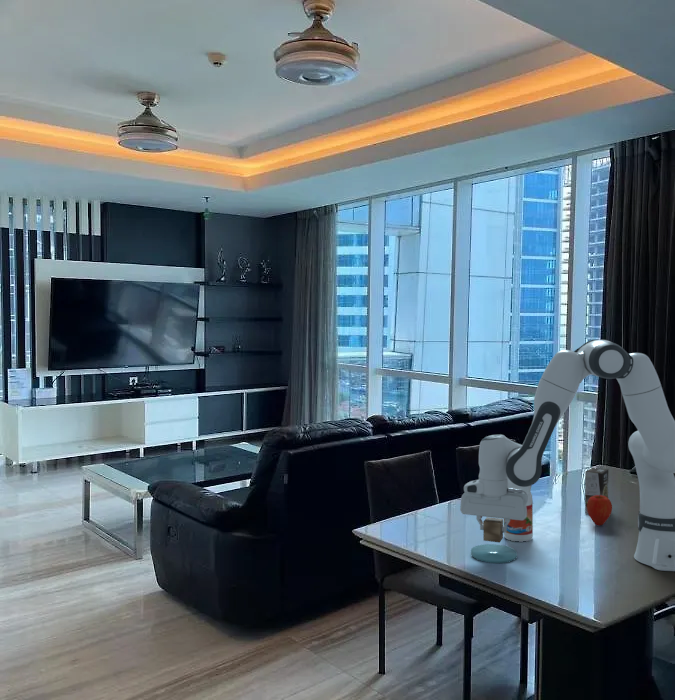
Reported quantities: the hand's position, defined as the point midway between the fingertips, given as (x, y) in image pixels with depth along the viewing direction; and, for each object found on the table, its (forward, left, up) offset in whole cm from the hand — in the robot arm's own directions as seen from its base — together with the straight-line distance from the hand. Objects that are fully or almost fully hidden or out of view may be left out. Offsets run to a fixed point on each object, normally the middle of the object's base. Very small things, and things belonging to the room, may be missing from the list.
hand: (493, 530), depth 213 cm
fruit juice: (-4, -20, -8) cm, 22 cm away
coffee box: (-26, -62, -8) cm, 68 cm away
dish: (0, 0, -8) cm, 8 cm away
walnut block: (0, 0, -3) cm, 3 cm away
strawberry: (-28, -45, -8) cm, 54 cm away
